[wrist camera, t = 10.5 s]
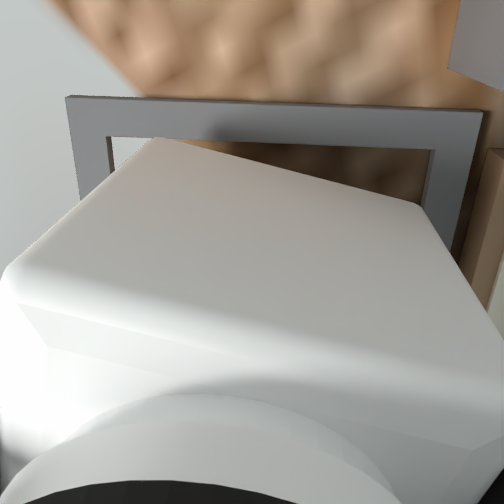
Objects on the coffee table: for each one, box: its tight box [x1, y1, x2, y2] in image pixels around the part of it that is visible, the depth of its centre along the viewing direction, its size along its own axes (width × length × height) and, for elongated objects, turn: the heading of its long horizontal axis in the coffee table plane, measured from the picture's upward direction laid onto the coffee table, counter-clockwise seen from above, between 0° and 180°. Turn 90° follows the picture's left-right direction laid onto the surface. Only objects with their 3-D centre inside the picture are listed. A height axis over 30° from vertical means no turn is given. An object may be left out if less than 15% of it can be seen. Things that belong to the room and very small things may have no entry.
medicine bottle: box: [0, 137, 504, 504], centre depth 8 cm, size 7×7×12 cm
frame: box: [65, 95, 483, 253], centre depth 15 cm, size 11×11×1 cm
